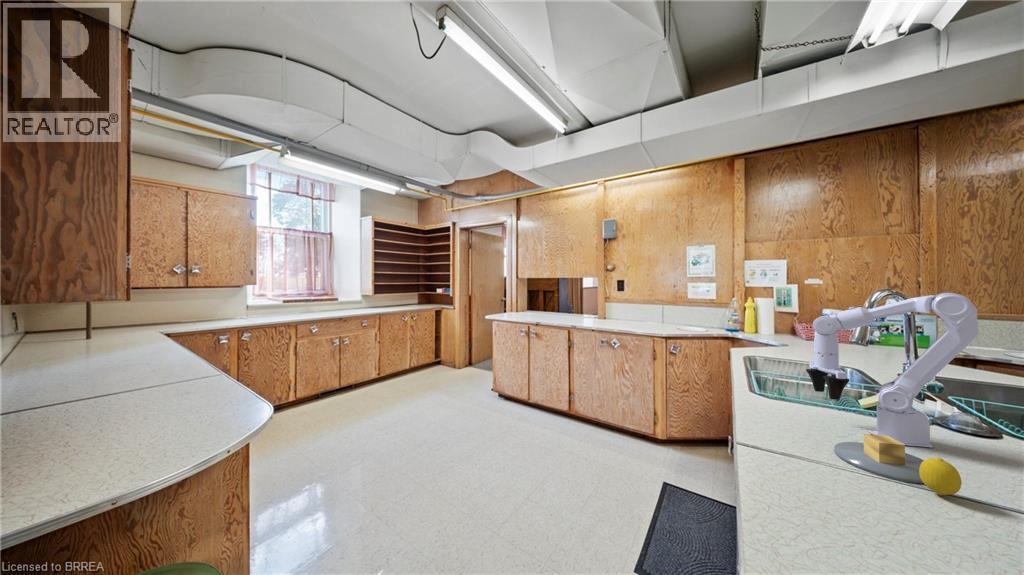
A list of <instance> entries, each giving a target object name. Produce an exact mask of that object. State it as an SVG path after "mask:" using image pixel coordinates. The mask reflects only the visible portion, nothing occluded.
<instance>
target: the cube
mask: <svg viewBox="0 0 1024 575" xmlns="http://www.w3.org/2000/svg"><path fill="white" fill-rule="evenodd" d="M863 443H864V453H865V454H867V455H868V456H870V457H871V458H873V459H874V460H876V461H877V462H879V463H887V464H897V465H905V453H906V445H904V444H902V443H900V442H899V441H897V440H895V439H893V438H891V437H889V436H884V435H873V434H871V433H870V434H869V433H863Z"/></svg>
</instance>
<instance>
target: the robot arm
mask: <svg viewBox="0 0 1024 575" xmlns="http://www.w3.org/2000/svg"><path fill="white" fill-rule="evenodd" d="M930 310H931V311H933V312H934V313H935V314H936V315H937V316H938V317H939V318H940V319H941V322H942V324H943V327H945V331H944V332H943V333H942V334H941V335H940V336H939V337H938V338H937V339H936V340H935V341H934V342H933V343H932V344H931V345H930V346H929V347H928V348H926V350H925V351H923V353H922V354H920V355H919V357H918V358H916V360H914V362H913V363H911V364H910V365H909V366H908V367H907V368H906V369H905V370H904V371H903V372H902V373H901V374H899V375H898V376H896V377H895V378H894V379H893V380H892V381H889V382H886V383H883V384H882V385H881V386H880V387H879V389H878V390H879V391H878V392H879V393H878V396H877V397H878V401H879V402H877V403H876V430H868V433H870V434H872V435H884V436H889V437H891V438H893V439H895V440H897V441H899V442H900V443H902V444H904V445H905V446H911V447H924V448H933V445H932V444H931V423H930V420H929V418H928V416H927V415H926V414H925V413H924V412H922V411H920V410H918V409H915V408H914V407H913V406H914V399H915V398H916V397H917V396H918V395H919V393H920V392H921V390H922V389H923V387H925V386H926V385H927V384H928V383H929V382H930V381H931V380H933V378H934V377H936V375H937V374H939V373H940V372H941V371H942V370H944V368H945V367H946V366H947V365H948V364H949V363H951V362H952V361H954V359H955V358H956V357H957V356H959V354H960V353H962V351H963V350H964V349H966V348H967V347H968V346H969V345H970V344H971V343H973V341H974V340H975V339H977V337H978V336H979V334H980V332H979V323H978V322H979V321H978V310H977V308H976V307H975V306H974V303H973V302H972V301H971V300H970V299H969V298H968V297H966V296H964V295H962V294H958V293H954V292H941V293H938V294H935V295H933V294H932V295H930V294H929V295H922V296H917V297H911V298H907V299H904V300H899V301H895V302H892V303H889V304H884V305H880V306H878V307H877V306H876V307H873V308H868V309H867V308H865V307H861V306H859V307H855V306H850V307H848V309H847V310H843V311H838V312H833V311H831V312H829V313H828V315H822V316H818V317H817V318H815V319H814V321H813V322H812V328H813V330H814V333H813V334H814V337H813V356H814V357H813V360H814V361H809V368H806V369H805V371H806V373H807V374H808V376H809V378H810V380H811V382H812V386H813V389H814V391H815V392H817V393H819V392H820V393H824V391H825V387H827V390H828V397H829V399H831V400H838V401H839V400H840V399H841V397H842V394H843V391H844V389H845V387H846V386H847V384H848V383H849V382H850V379H849V378H847V372H845V371H844V370H842V369H841V368H840V367H839V366H840V365H839V363H840V361H839V360H840V356H839V353H840V352H839V348H840V347H839V339H838V331H847V330H853V329H858V328H862V327H866V326H867V327H868V326H871V325H872V323H873V322H874V320H878V319H882V318H883V319H884V318H887V317H892V316H897V315H902V314H907V313H912V312H913V313H922V314H928V315H929V314H931V311H930Z"/></svg>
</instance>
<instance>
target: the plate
mask: <svg viewBox="0 0 1024 575" xmlns="http://www.w3.org/2000/svg"><path fill="white" fill-rule="evenodd" d="M833 448H834V450H833V451H834V453H835V454H834V455H836V456H837V457H838V458H839V459H840V460H842V461H844V462H845V463H847V464H848V465H851V466H853V467H855V468H858V469H860V470H862V471H864V472H868V473H870V474H874V475H877V476H880V477H883V478H886V479H891V480H894V481H898V482H904V483H909V484H916V483H923V482H922V480H921V478H920V475H919V468H920V465H921V463H922V462H923V461H924V460H925V459H922V458H920V457H917V456H915V455H913V454H909V453H907V452H905V465H897V464H887V463H879V462H877V461H876V460H874V459H873V458H871V457H870V456H868V455H867V454H865V453H864V442H858V441H857V442H856V441H842V442H838V443H836V444H835V445H834V447H833Z"/></svg>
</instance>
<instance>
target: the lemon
mask: <svg viewBox="0 0 1024 575" xmlns="http://www.w3.org/2000/svg"><path fill="white" fill-rule="evenodd" d="M923 460H924V461H923V462H922V463H921V465H920V468H919V475H920V478H921V480H922V482H923V483H924V484H923V485H924V486H926V488H928V489H930V491H932V492H935V493H936V495H938V496H940V495H941V497H942V496H947V495H949V496H951V495H955V494H957V493H958V492H960V490H961V488H962V478H961V475H960V472H959V471H958V470H957V468H956V467H955V466H954V465H952V464H951V463H949V462H948V461H946V460H944V459H943V458H941V457H936V458H934V457H933V458H926V459H923Z"/></svg>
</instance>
